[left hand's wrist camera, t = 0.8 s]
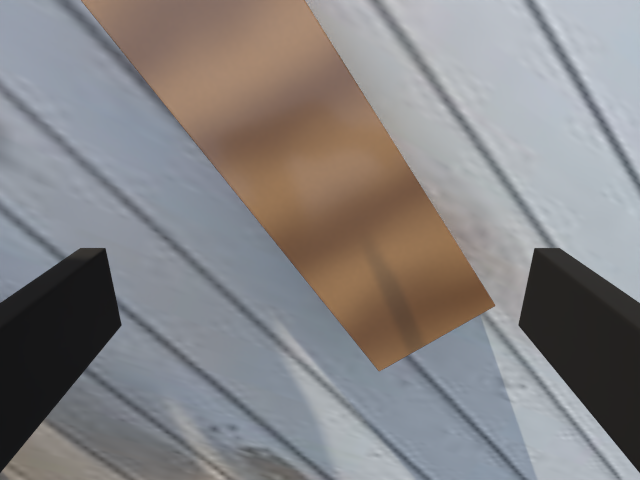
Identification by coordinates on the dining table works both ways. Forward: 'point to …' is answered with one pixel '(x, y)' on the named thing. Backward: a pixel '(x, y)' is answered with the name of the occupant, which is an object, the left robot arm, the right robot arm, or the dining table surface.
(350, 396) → the dining table surface
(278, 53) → the wooden beam
